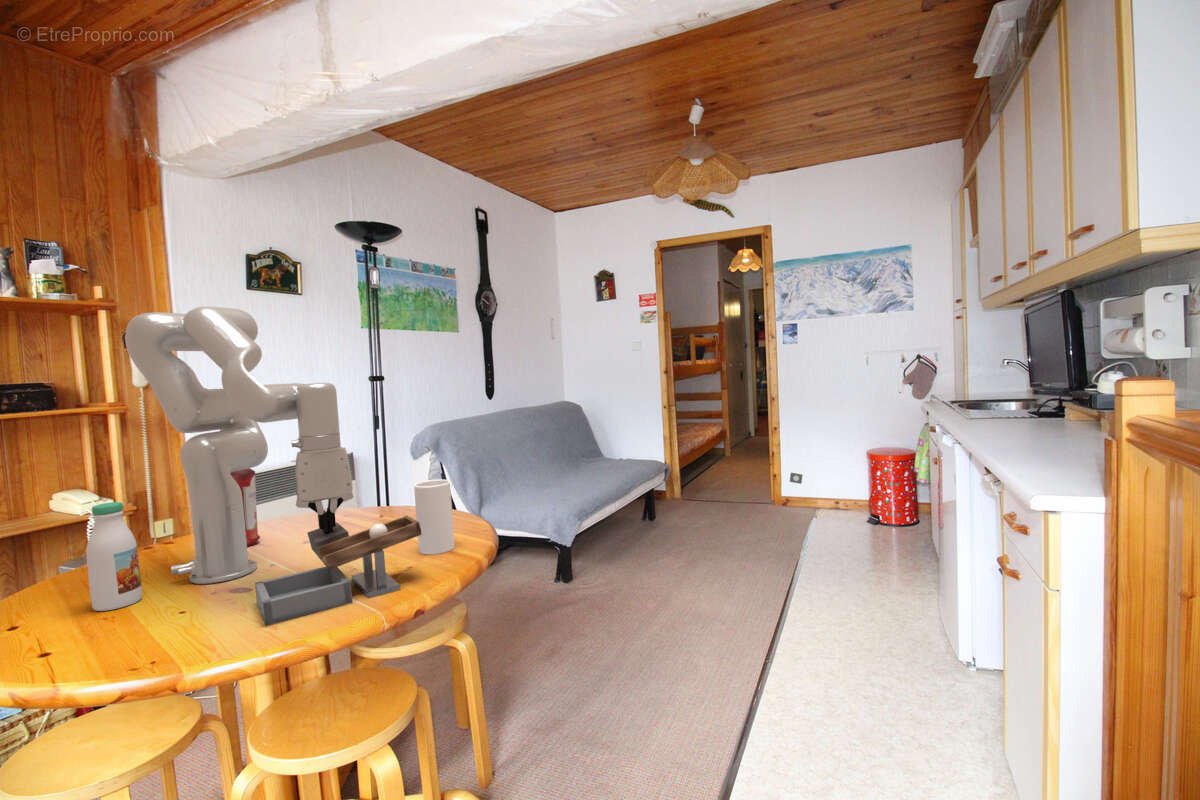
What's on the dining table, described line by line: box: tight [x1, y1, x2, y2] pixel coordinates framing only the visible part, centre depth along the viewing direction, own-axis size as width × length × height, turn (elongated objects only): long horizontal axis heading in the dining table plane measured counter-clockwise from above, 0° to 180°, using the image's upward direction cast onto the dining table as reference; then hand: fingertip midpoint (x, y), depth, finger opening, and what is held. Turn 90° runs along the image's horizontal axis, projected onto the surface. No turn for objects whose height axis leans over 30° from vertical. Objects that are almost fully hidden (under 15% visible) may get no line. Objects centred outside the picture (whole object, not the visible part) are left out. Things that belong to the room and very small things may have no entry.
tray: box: [254, 566, 353, 627], centre depth 110 cm, size 14×13×4 cm
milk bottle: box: [85, 501, 143, 612], centre depth 115 cm, size 8×8×20 cm
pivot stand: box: [351, 549, 401, 599], centre depth 118 cm, size 6×13×8 cm, turn 36°
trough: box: [307, 515, 422, 570], centre depth 121 cm, size 18×18×4 cm
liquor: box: [230, 468, 261, 547], centre depth 152 cm, size 7×7×28 cm
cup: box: [413, 479, 456, 555], centre depth 139 cm, size 8×8×16 cm
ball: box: [369, 523, 388, 538], centre depth 118 cm, size 4×4×4 cm
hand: (327, 531), depth 121 cm, fingers closed
